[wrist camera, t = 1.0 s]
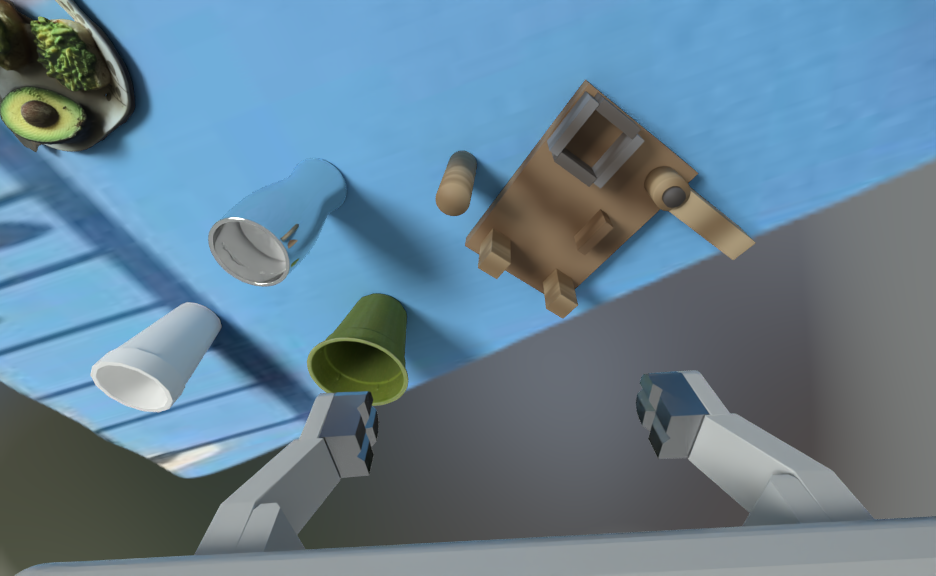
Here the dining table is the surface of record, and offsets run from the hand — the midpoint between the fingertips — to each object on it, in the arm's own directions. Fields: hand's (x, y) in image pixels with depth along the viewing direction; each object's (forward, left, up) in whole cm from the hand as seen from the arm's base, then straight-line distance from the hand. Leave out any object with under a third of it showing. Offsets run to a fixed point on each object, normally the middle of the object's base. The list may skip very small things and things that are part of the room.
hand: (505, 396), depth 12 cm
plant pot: (+30, +1, -33) cm, 45 cm away
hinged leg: (-5, +19, -30) cm, 36 cm away
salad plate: (+21, -41, -34) cm, 57 cm away
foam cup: (+48, -21, -33) cm, 62 cm away
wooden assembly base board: (+3, +11, -33) cm, 35 cm away
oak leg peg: (+6, -1, -33) cm, 33 cm away
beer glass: (+17, -13, -33) cm, 40 cm away
